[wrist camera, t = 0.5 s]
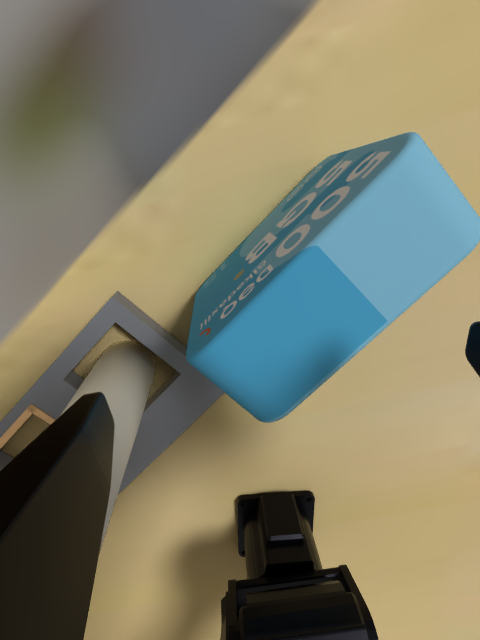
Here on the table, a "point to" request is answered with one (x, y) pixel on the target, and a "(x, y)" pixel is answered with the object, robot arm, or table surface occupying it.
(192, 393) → the jack panel
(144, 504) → the table surface
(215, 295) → the blue box
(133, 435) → the white cylinder with cap
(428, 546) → the table surface
